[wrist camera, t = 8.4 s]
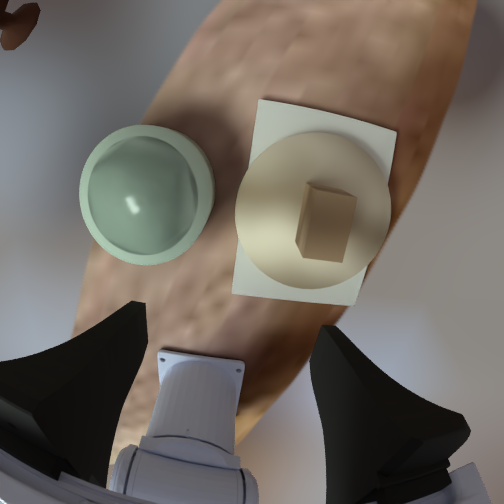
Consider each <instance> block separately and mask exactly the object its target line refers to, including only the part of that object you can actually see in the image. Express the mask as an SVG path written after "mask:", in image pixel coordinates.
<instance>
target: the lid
mask: <svg viewBox="0 0 504 504" xmlns="http://www.w3.org/2000/svg"><path fill="white" fill-rule="evenodd" d="M390 218H391V198H390V193H389V188H388V185H387V182H386V179H385V177H384V175H383V173H382V171H381V169H380V168H379V166H378V165H377V163H376V162H375V160H374V159H373V158H372V157H371V156H370V155H369V154H368V153H367V152H366V151H365V150H364V149H362V148H361V147H360V146H358V145H357V144H355V143H354V142H352V141H350V140H348V139H345V138H343V137H340V136H337V135H334V134H328V133H316V132H311V133H303V134H298V135H294V136H290V137H287V138H285V139H283V140H280V141H278V142H276V143H275V144H273V145H271V146H270V147H268V148H267V149H266V150H265V151H263V152H262V153H261V154H260V155H259V156H258V157H257V158H256V159H255V160H254V161H253V163H252V164H251V166H250V167H249V168H248V170H247V171H246V173H245V175H244V177H243V179H242V181H241V184H240V187H239V190H238V194H237V199H236V206H235V221H236V228H237V233H238V237H239V239H240V242H241V245H242V247H243V249H244V251H245V252H246V254H247V256H248V257H249V258H250V260H251V261H252V263H253V264H254V265H255V266H256V267H257V268H258V269H259V270H260V271H262V272H263V273H264V274H265V275H267V276H268V277H270V278H271V279H273V280H275V281H277V282H279V283H281V284H284V285H287V286H290V287H294V288H300V289H321V288H326V287H331V286H334V285H337V284H340V283H342V282H344V281H346V280H348V279H350V278H352V277H353V276H355V275H356V274H358V273H359V272H360V271H361V270H363V269H364V268H365V267H366V266H367V265H368V264H369V263H370V262H371V261H372V259H373V258H374V257H375V256H376V254H377V253H378V251H379V249H380V248H381V246H382V244H383V242H384V240H385V238H386V235H387V232H388V228H389V224H390Z"/></svg>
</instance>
